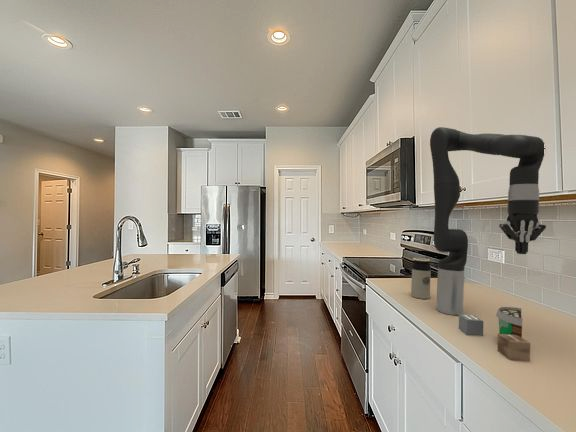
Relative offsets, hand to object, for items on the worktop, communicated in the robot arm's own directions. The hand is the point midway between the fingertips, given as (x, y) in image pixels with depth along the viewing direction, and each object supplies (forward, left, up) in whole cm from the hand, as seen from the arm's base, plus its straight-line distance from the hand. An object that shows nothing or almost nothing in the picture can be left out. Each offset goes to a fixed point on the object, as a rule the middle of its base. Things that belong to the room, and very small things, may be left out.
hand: (521, 253), depth 88 cm
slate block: (-3, -13, -27) cm, 30 cm away
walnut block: (+12, -10, -27) cm, 31 cm away
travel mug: (-42, -14, -27) cm, 52 cm away
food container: (+4, -6, -27) cm, 28 cm away
